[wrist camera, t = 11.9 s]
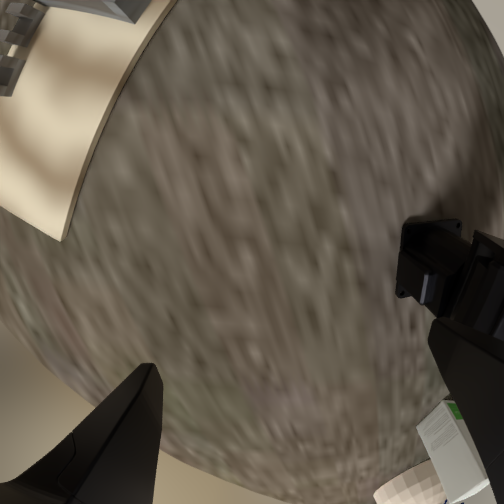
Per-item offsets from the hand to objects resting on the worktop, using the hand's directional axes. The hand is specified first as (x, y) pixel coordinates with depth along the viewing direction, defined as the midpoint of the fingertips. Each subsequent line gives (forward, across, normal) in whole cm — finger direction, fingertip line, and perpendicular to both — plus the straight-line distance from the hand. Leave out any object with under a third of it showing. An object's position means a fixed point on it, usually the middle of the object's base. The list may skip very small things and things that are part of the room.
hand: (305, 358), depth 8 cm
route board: (+13, +12, -15) cm, 24 cm away
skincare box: (+13, -25, +32) cm, 43 cm away
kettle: (+13, -30, +62) cm, 70 cm away
